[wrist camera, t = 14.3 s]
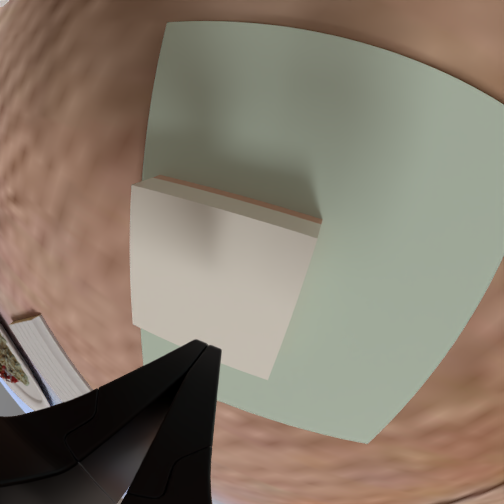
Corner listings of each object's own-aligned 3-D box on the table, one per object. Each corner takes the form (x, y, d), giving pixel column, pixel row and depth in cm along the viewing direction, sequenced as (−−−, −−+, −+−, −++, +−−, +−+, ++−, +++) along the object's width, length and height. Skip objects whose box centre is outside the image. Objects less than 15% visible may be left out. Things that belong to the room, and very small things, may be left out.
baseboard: (51, 309, 22) (17, 318, 27) (29, 326, 20) (1, 330, 25) (204, 489, 31) (145, 473, 36) (196, 505, 28) (137, 485, 33)
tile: (317, 238, 9) (131, 184, 10) (267, 380, 12) (132, 324, 14) (322, 219, 11) (160, 174, 12) (278, 351, 14) (153, 303, 15)
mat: (536, 130, 7) (542, 132, 6) (368, 437, 16) (367, 443, 16) (173, 24, 10) (167, 22, 9) (147, 362, 19) (143, 366, 18)
